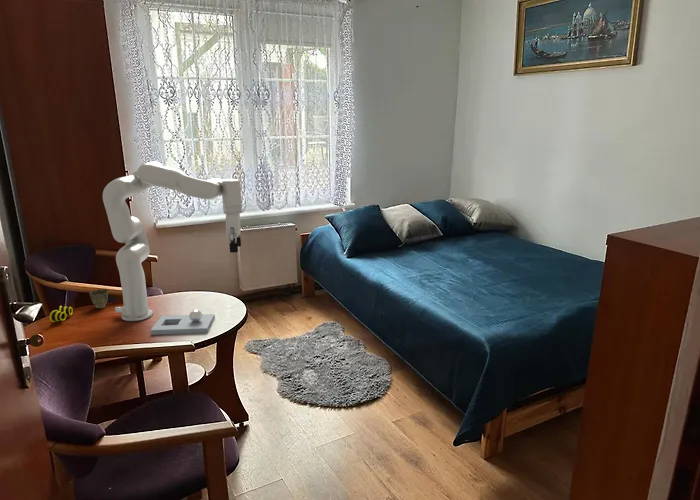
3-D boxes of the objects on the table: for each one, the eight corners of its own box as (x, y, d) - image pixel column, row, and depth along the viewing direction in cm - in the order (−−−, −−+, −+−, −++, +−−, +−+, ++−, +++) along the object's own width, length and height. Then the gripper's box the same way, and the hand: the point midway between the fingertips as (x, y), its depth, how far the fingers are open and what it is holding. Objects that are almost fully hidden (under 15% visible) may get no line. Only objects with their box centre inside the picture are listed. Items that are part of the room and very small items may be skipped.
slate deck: (151, 334, 194) (150, 330, 194) (162, 320, 209) (161, 315, 208) (207, 332, 196) (207, 328, 195) (214, 318, 210) (214, 314, 210)
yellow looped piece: (62, 323, 206) (61, 312, 204) (50, 323, 206) (48, 312, 204) (74, 314, 215) (73, 304, 214) (62, 314, 215) (60, 304, 214)
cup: (92, 306, 224) (90, 289, 222) (110, 303, 227) (108, 287, 225) (91, 311, 218) (88, 294, 216) (109, 309, 221) (107, 292, 219)
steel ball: (188, 323, 199) (187, 312, 198) (191, 319, 204) (190, 307, 203) (201, 323, 200) (200, 312, 198) (203, 318, 204) (202, 307, 203)
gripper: (226, 206, 210) (229, 244, 215) (219, 213, 194) (223, 254, 198) (244, 205, 211) (247, 244, 215) (239, 212, 194) (242, 254, 199)
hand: (235, 249), depth 207 cm, fingers open, 9 cm apart
